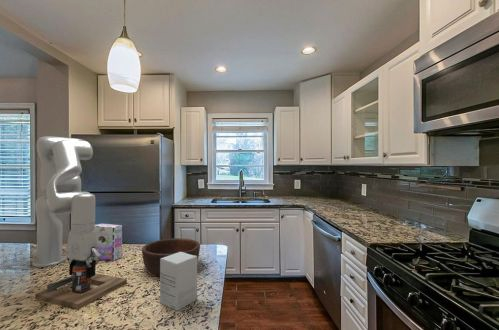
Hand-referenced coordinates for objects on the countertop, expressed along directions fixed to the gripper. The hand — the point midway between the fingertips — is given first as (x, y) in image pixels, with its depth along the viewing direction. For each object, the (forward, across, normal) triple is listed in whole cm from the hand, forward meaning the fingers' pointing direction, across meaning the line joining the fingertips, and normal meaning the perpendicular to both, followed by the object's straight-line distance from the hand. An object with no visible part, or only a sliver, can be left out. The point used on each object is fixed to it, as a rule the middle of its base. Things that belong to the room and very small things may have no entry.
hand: (82, 275), depth 95 cm
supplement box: (+6, +38, +5) cm, 39 cm away
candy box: (+6, -20, +29) cm, 36 cm away
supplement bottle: (+6, 0, 0) cm, 6 cm away
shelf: (+5, +1, 0) cm, 5 cm away
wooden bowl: (+6, +18, +29) cm, 35 cm away
